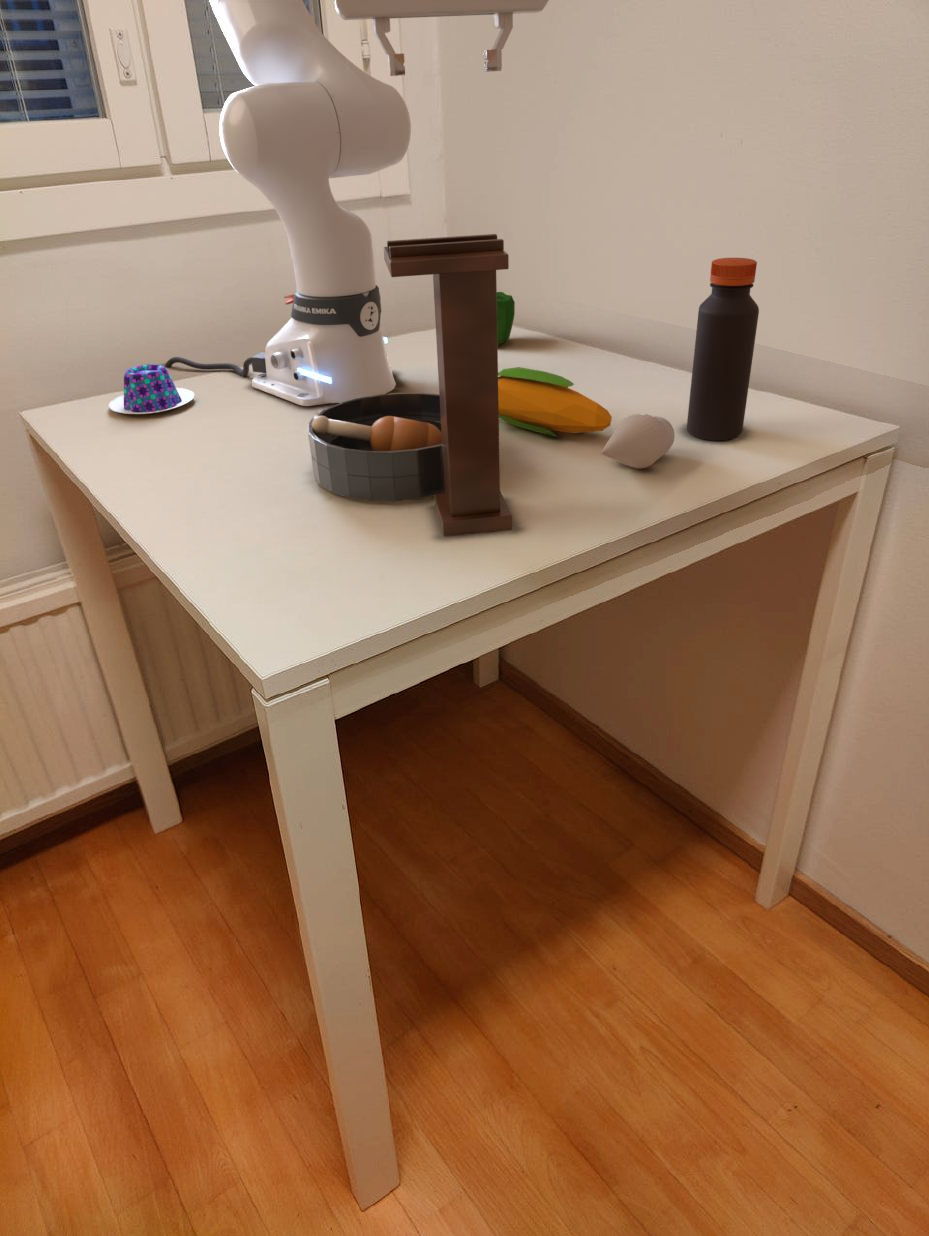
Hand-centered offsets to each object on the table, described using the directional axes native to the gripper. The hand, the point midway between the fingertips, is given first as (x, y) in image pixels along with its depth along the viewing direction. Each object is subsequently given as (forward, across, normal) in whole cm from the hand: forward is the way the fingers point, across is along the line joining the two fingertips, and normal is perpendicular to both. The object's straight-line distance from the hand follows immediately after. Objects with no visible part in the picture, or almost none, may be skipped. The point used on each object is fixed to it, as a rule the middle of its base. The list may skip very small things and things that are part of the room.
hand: (445, 73), depth 84 cm
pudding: (+39, +41, -30) cm, 64 cm away
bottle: (+39, -32, +1) cm, 51 cm away
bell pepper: (+39, -12, -49) cm, 64 cm away
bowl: (+39, +8, +4) cm, 40 cm away
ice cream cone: (+39, -18, +10) cm, 44 cm away
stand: (+39, +3, +18) cm, 43 cm away
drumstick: (+37, +11, +3) cm, 39 cm away
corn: (+39, -12, -5) cm, 41 cm away
